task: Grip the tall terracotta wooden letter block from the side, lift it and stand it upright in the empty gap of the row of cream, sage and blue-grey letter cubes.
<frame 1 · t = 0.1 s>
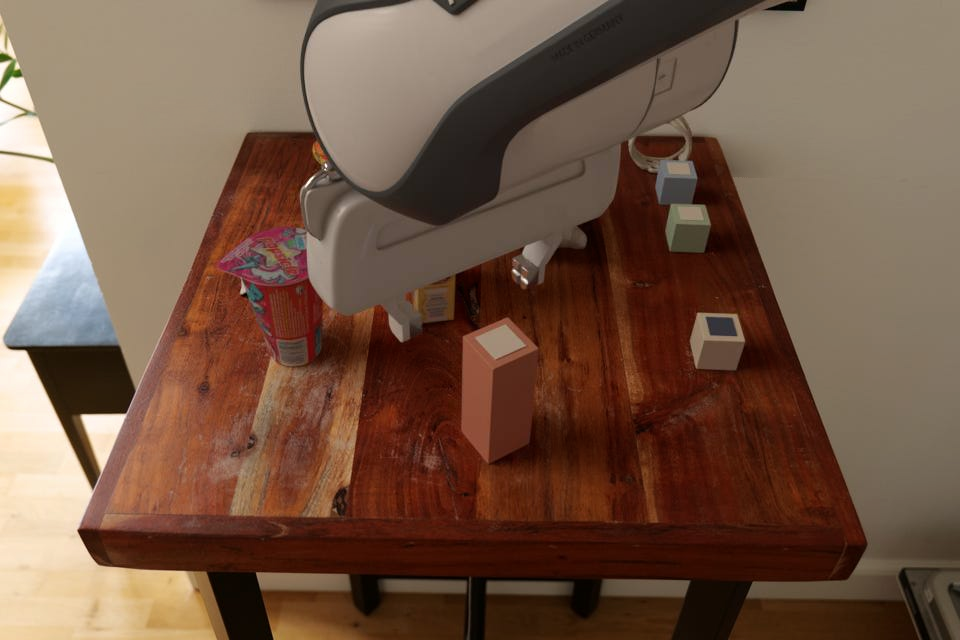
hand: (468, 306, 56), 23 cm above the table, tool pointing down, fingers open, 8 cm apart
block c: (672, 196, 107), on the table
cup: (292, 352, 85), on the table
seashell: (519, 223, 103), on the table
block a: (712, 355, 86), on the table
tissue: (279, 286, 93), on the table
tall block: (495, 437, 78), on the table
magic lamp: (343, 183, 108), on the table
block b: (684, 242, 100), on the table
candy box: (430, 297, 92), on the table
bracelet: (654, 170, 112), on the table
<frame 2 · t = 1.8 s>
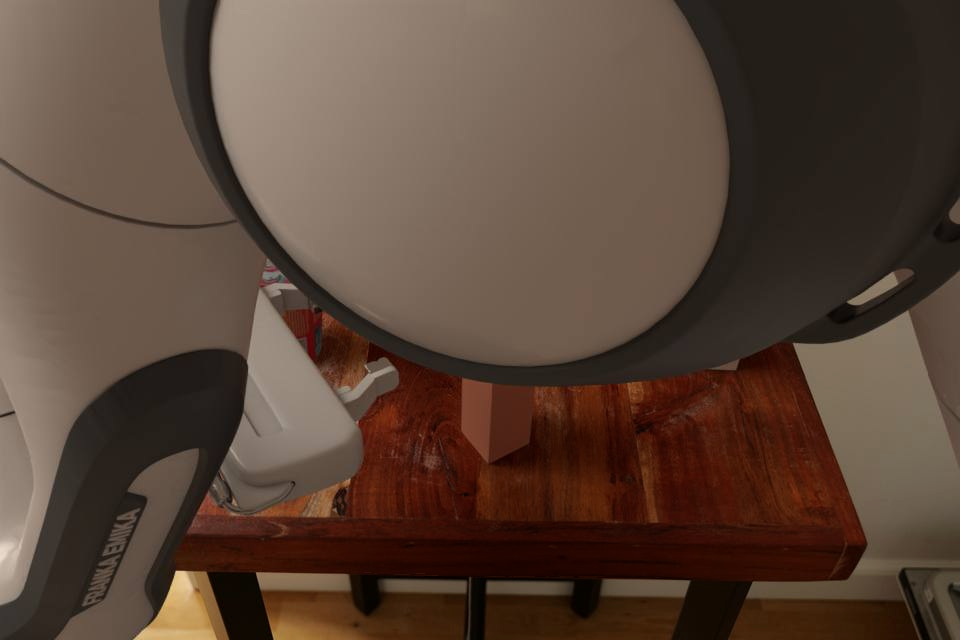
hand: (361, 329, 60), 19 cm above the table, tool horizontal, fingers open, 8 cm apart
nothing on the table moved.
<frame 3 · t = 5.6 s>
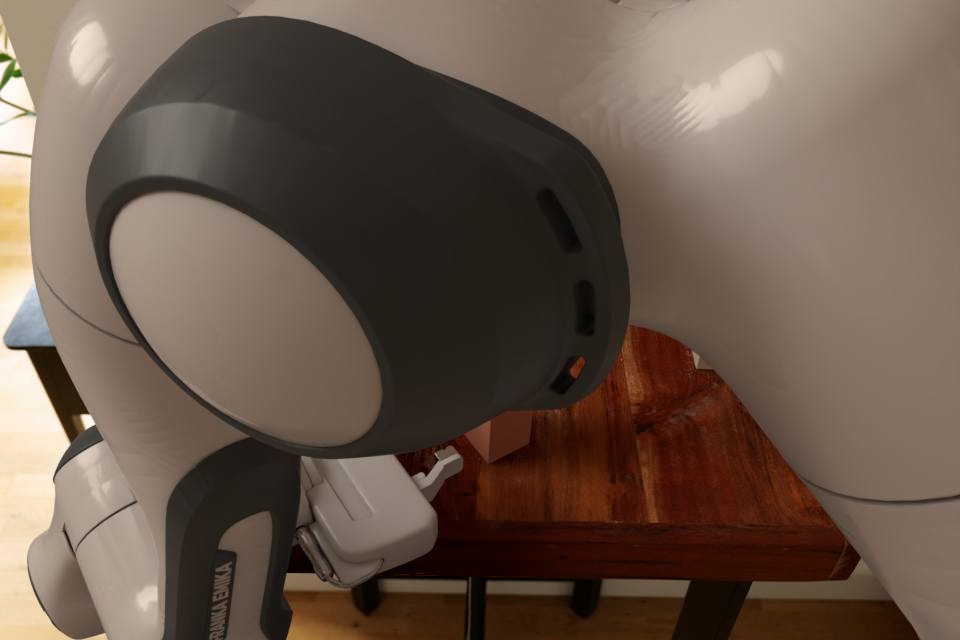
hand: (427, 418, 70), 7 cm above the table, tool horizontal, fingers open, 8 cm apart
nothing on the table moved.
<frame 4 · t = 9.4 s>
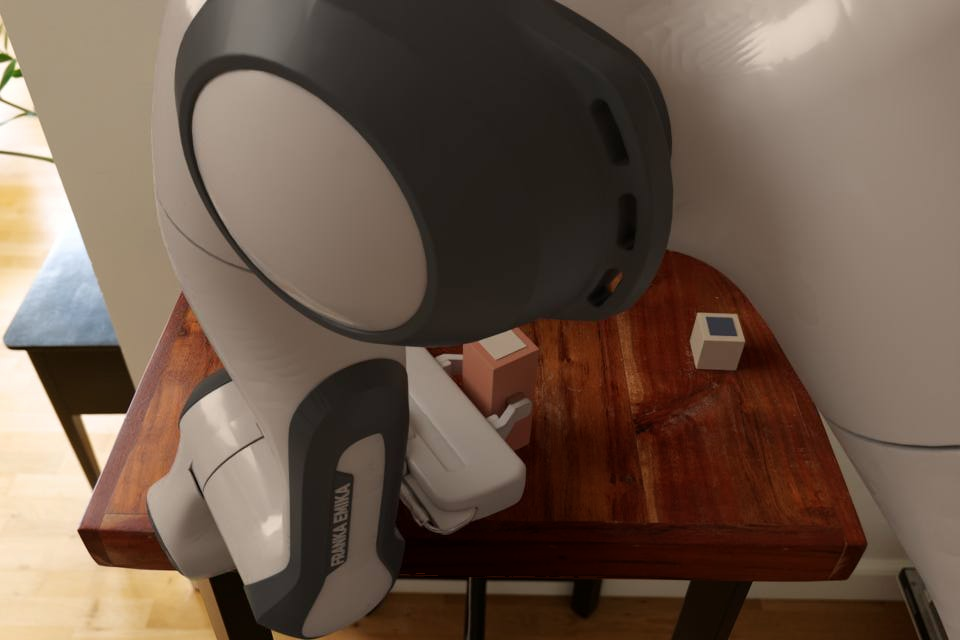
hand: (506, 380, 73), 7 cm above the table, tool horizontal, fingers closed on tall block, 4 cm apart
tall block: (495, 437, 78), on the table, touching gripper
everything else where it was.
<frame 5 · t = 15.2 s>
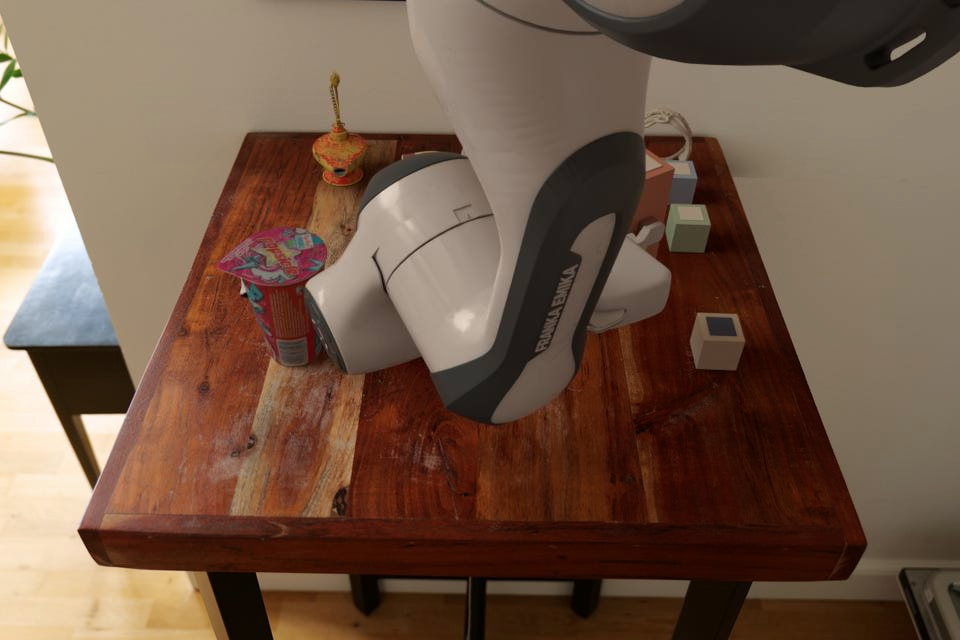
hand: (635, 209, 74), 18 cm above the table, tool horizontal, fingers closed on tall block, 4 cm apart
tall block: (616, 276, 78), point 11 cm above the table, touching gripper
everything else where it was.
when the fingers open (7 cm above the table, at t = 21.0 s): tall block stays where it is, on the table.
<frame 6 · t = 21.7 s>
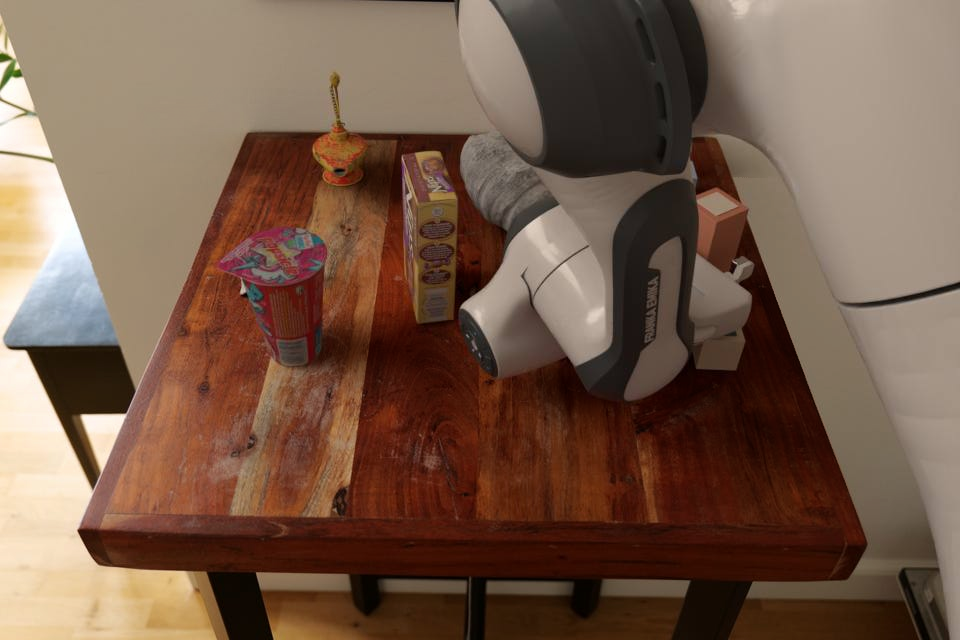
hand: (714, 241, 89), 7 cm above the table, tool horizontal, fingers open, 8 cm apart
tall block: (693, 295, 93), on the table
everything else where it was.
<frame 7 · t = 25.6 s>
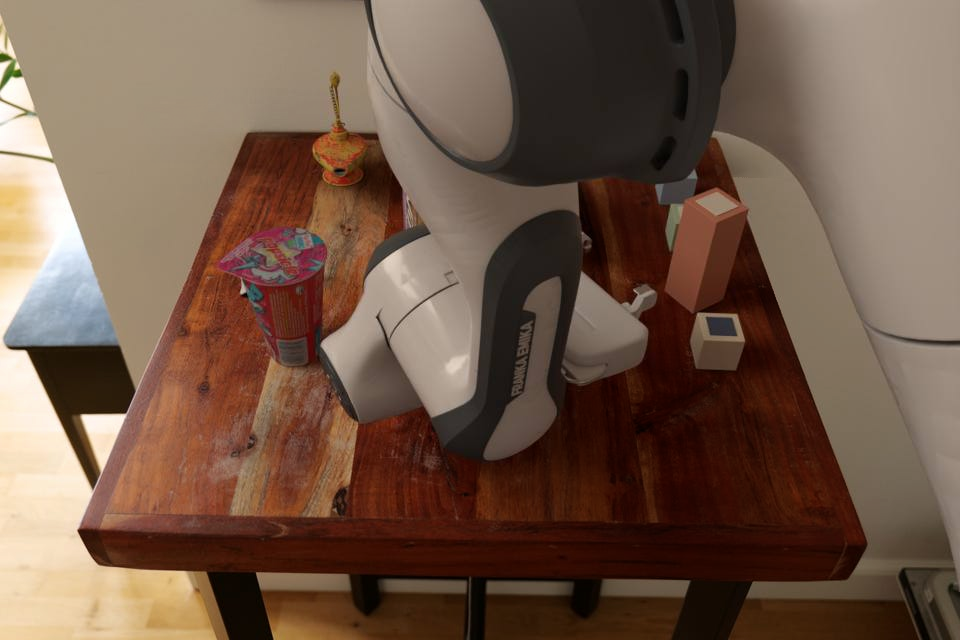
hand: (618, 266, 81), 10 cm above the table, tool horizontal, fingers open, 8 cm apart
nothing on the table moved.
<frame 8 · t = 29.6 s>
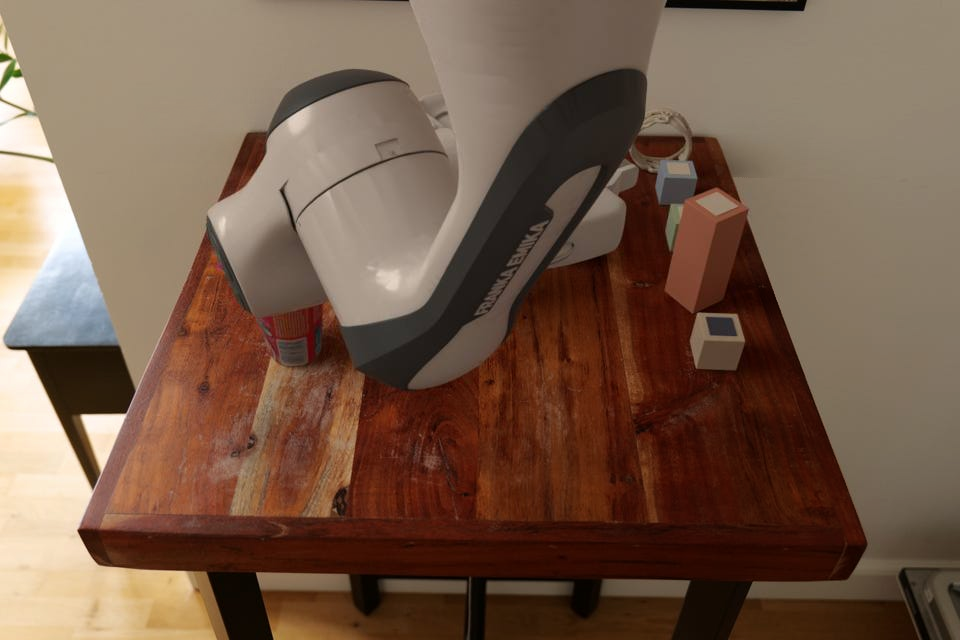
hand: (591, 142, 66), 26 cm above the table, tool horizontal, fingers open, 8 cm apart
nothing on the table moved.
at the end: tall block 0.1 cm from the target spot on the table beside the block b, on the table; tall block tilted 0°; block b moved 0.0 cm from its start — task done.
